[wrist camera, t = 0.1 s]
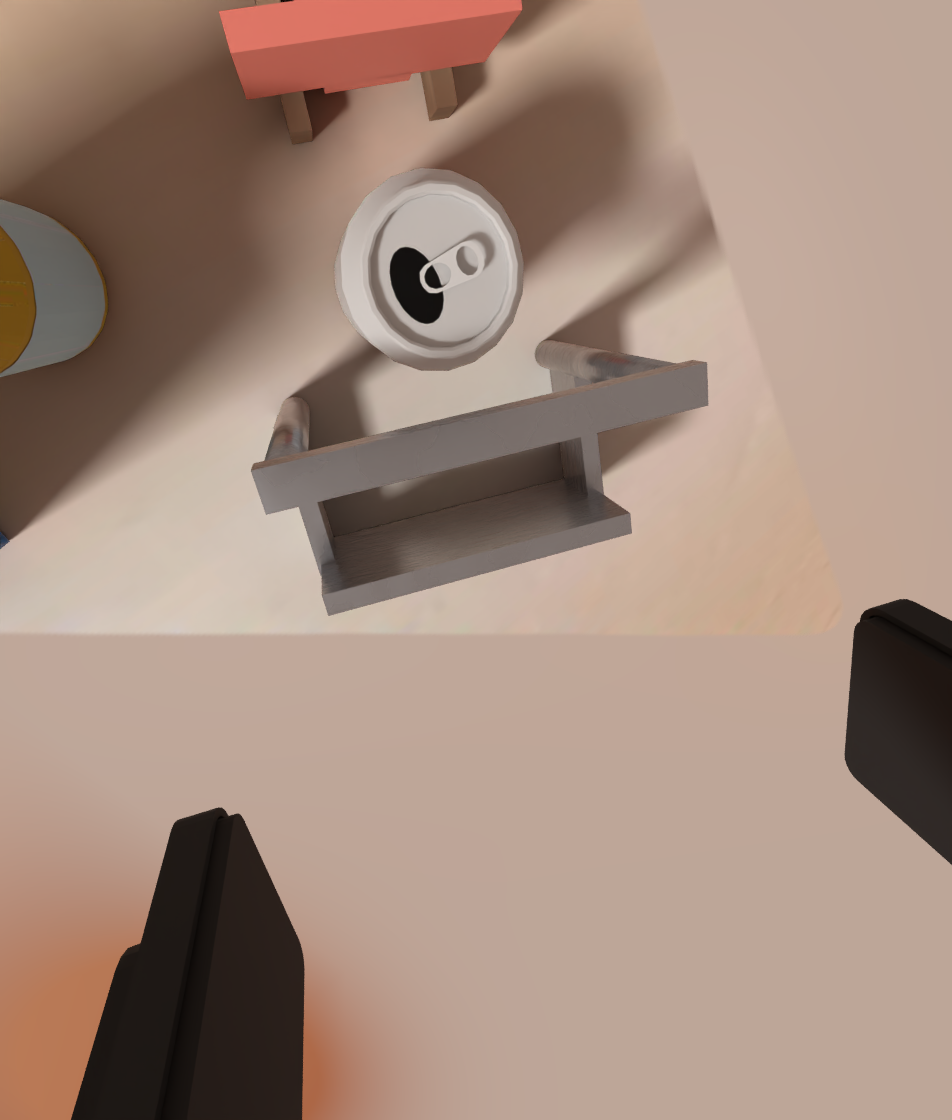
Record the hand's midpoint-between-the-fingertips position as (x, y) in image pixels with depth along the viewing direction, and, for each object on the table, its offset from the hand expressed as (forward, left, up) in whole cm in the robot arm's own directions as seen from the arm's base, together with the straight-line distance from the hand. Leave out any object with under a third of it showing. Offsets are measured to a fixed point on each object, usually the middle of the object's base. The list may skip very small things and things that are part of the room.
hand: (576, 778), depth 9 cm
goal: (+3, +3, -31) cm, 31 cm away
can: (-7, +3, -31) cm, 32 cm away
